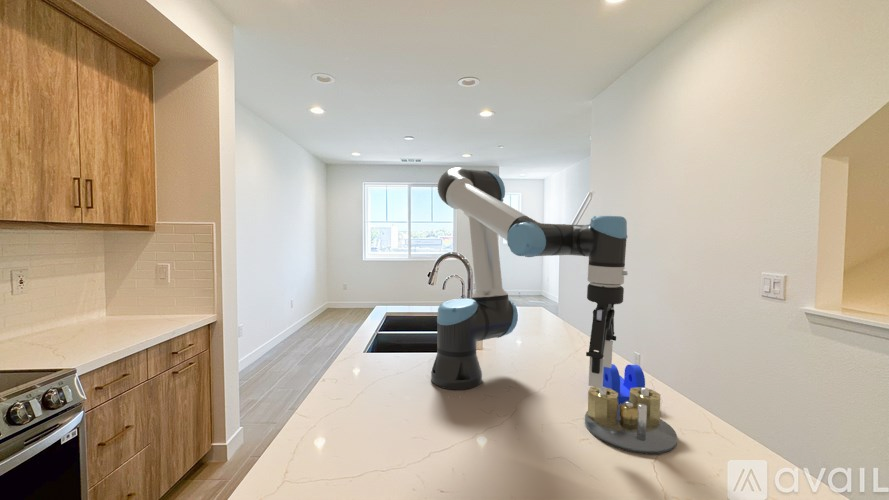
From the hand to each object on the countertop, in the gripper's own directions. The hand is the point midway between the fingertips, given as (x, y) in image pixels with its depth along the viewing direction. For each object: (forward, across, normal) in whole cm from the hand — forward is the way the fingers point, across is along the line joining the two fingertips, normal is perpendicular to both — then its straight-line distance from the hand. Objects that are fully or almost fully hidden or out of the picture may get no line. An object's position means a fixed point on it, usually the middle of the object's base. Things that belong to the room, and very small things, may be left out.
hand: (600, 375), depth 82 cm
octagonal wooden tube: (+10, 0, -1) cm, 10 cm away
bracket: (+11, +21, 0) cm, 24 cm away
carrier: (+11, 0, -6) cm, 12 cm away
